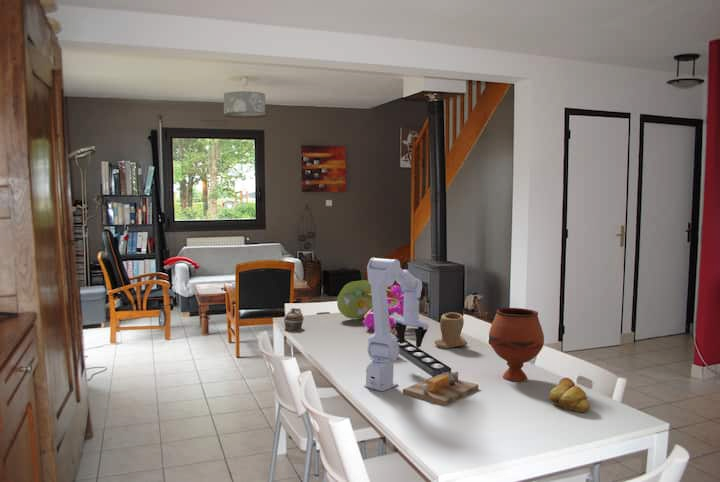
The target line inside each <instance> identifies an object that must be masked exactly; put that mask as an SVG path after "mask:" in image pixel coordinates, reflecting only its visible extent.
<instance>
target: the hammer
mask: <svg viewBox="0 0 720 482" xmlns="http://www.w3.org/2000/svg"><path fill="white" fill-rule="evenodd" d="M437 375H438V376H436V375H435V376H436V377H434V376H433V377H434V378H431V377H430V378H431V379H429V378H428V379H429V380H427V379H426V380H427V384H428V385H429V389H428V391H431V392H434V393H435V392H437V391H440V390H442V389H444V388H446V387H448V386H453V385H455V373H454V371H453V372H451V371H444V372H442V373H441V374H437Z"/></svg>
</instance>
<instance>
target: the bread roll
mask: <svg viewBox="0 0 720 482" xmlns="http://www.w3.org/2000/svg"><path fill="white" fill-rule="evenodd" d="M575 384H576V383H575V382H574V381H573V380H572V379H571V378H569V377H564V378H563V377H562V378H561V379H560V380H559V382H558V385H556V386H555V387H553V388H552V389H551V390H550V393H549V400H550V401H551V403H552V404H554V405H556V406H559V408H562V409H563V410H569V411H570V410H571V411H575V412H579V413H580V412H581V413H583V412H584V413H585V412H588V411H589V410H590V408H591V402H590V401H589V400H588V399H587V398H588V395H587V393H586V392H585V390H583V388H581V387H579V386H577V385H575Z"/></svg>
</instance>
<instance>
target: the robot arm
mask: <svg viewBox="0 0 720 482" xmlns="http://www.w3.org/2000/svg"><path fill="white" fill-rule="evenodd" d="M366 273H367V280H368V283H369V284H370V285H371V293H372V304H373V315H374V326H375V329H374V331H375V333H372V334H371V335H370V336H369V337H368V342H367V344H368V345H367V354H368V356H369V357H370V360H371V363H369V364H368V365H367V366H366V368H365V369H366V372H365V374H366V375H365V384H363V387H365V388H369V389H373V390H376V391H379V392H385V391H387V390H389V389H391V388H394V387H397V386H398V385H399V383H398V382H394V365H395V364H394V363H395V361H396V360H397V359H398V357H399V356H400V346H399V344H405V340H406V330H407V327H408V326H409V327H413V328H414V333H415V346H416V347H415V348H421V346H422V342H423V339H424V337H425V335H426V334H427V332H428V330H429V323H427V322H423V321H420V320H419V317H420V315H419V314H420V311H419V310H420V298H421V296H422V290H423V283H422V280H421V279H420V278H419V277H418V278H416V277H414V275H413V274H412V273H410V272H409V269H403V268H402V267H401V262H400V260H398V259H397V258H393V259H392V258H383V257H382V258H379V257H371V258H370V259H369V261H368V264H367V266H366ZM395 281H396V283H397V284H398V286H399V285H400V286H399V287H400V288H401V290H402V291H401V292H403V295H404V302H403V303H404V314H403V317H402V318H399V317H396V318H395V317H393V318H394V324H396V325H394V327H393V329H394V328H395V330H396V335H397V336H396V337H395V336H394V335H393V332H392V333H391V332H390V325H389V317H390V316H389V313H388V307H389V304H388V300H387V297H388V293H387V292H388V290H387V289H388V288H389V287H392V286H394V283H395ZM397 337H398V339H397ZM398 342H399V343H398Z"/></svg>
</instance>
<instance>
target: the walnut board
mask: <svg viewBox="0 0 720 482" xmlns="http://www.w3.org/2000/svg"><path fill="white" fill-rule="evenodd" d="M453 373H455V385H453V386H448V387H446V388H444V389H442V390H440V391H437V392H435V393H434V392H431V391H428V389H429V385H428V384H427V380H429V379H431V378H434V377H436V376H438V375H439V374H437V375H434V376H432V377H429V378H427V379H425V380H422V381H420V382H417V383H414V384H413V385H410V386H408V387H405V388H403V389H402V394H403V395H406V396H410V397H413V398H415V399H421V400H422V401H423V400H424V401H427V402H430V403H433V404H437V405H441V406H444V407H445V406H448V405H449V404H451V403H453V402H455V401H457V400H460V399H461V398H463V397H465V396H467V395H468V394H471V393H473V392H474V391H477V390H479V384H478V383H475V382H469V381H466V380H461V379H459V371H456V370H454V371H453Z"/></svg>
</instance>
